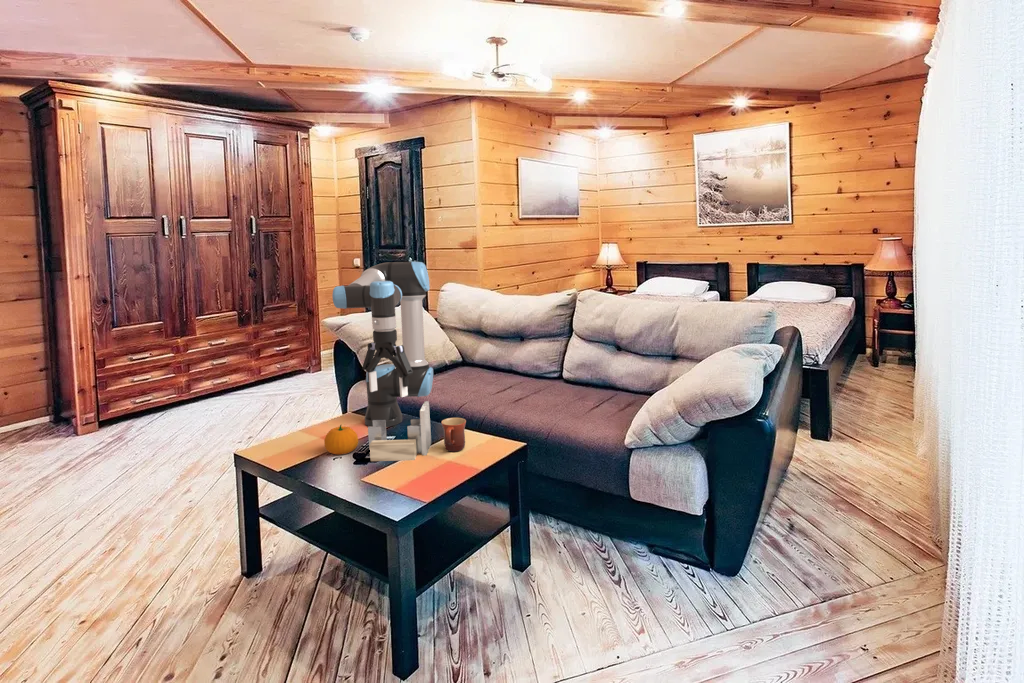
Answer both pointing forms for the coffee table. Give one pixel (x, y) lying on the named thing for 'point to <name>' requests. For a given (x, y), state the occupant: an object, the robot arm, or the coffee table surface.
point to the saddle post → (377, 431)
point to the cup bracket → (421, 430)
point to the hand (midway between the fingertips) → (388, 393)
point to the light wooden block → (393, 450)
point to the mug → (454, 434)
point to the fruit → (341, 440)
